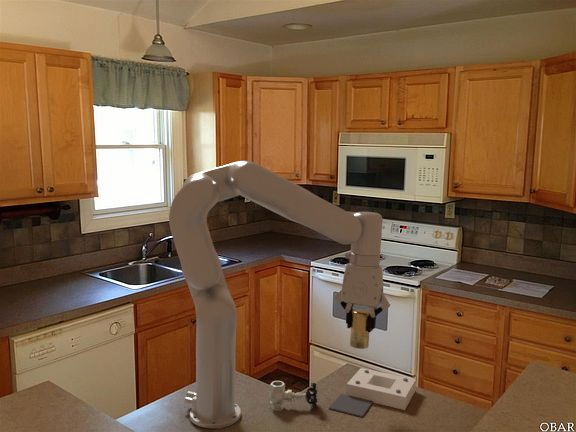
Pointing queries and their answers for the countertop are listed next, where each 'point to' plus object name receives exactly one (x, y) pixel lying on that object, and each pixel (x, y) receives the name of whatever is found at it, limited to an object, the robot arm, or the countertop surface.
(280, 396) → the valve
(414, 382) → the plate
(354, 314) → the brass domed cylinder
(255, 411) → the countertop surface
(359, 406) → the mat
